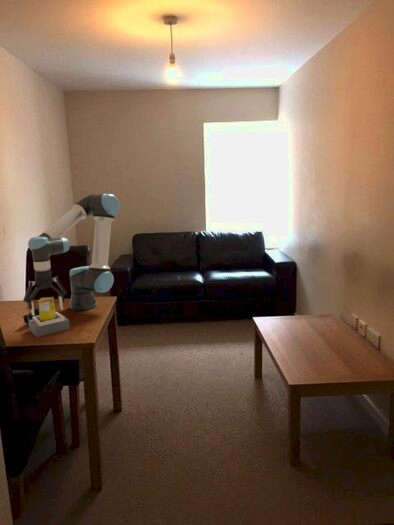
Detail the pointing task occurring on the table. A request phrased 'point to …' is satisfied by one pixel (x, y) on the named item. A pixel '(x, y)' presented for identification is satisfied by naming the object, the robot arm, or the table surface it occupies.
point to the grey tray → (48, 325)
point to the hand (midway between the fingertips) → (47, 312)
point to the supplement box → (46, 309)
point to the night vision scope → (29, 316)
